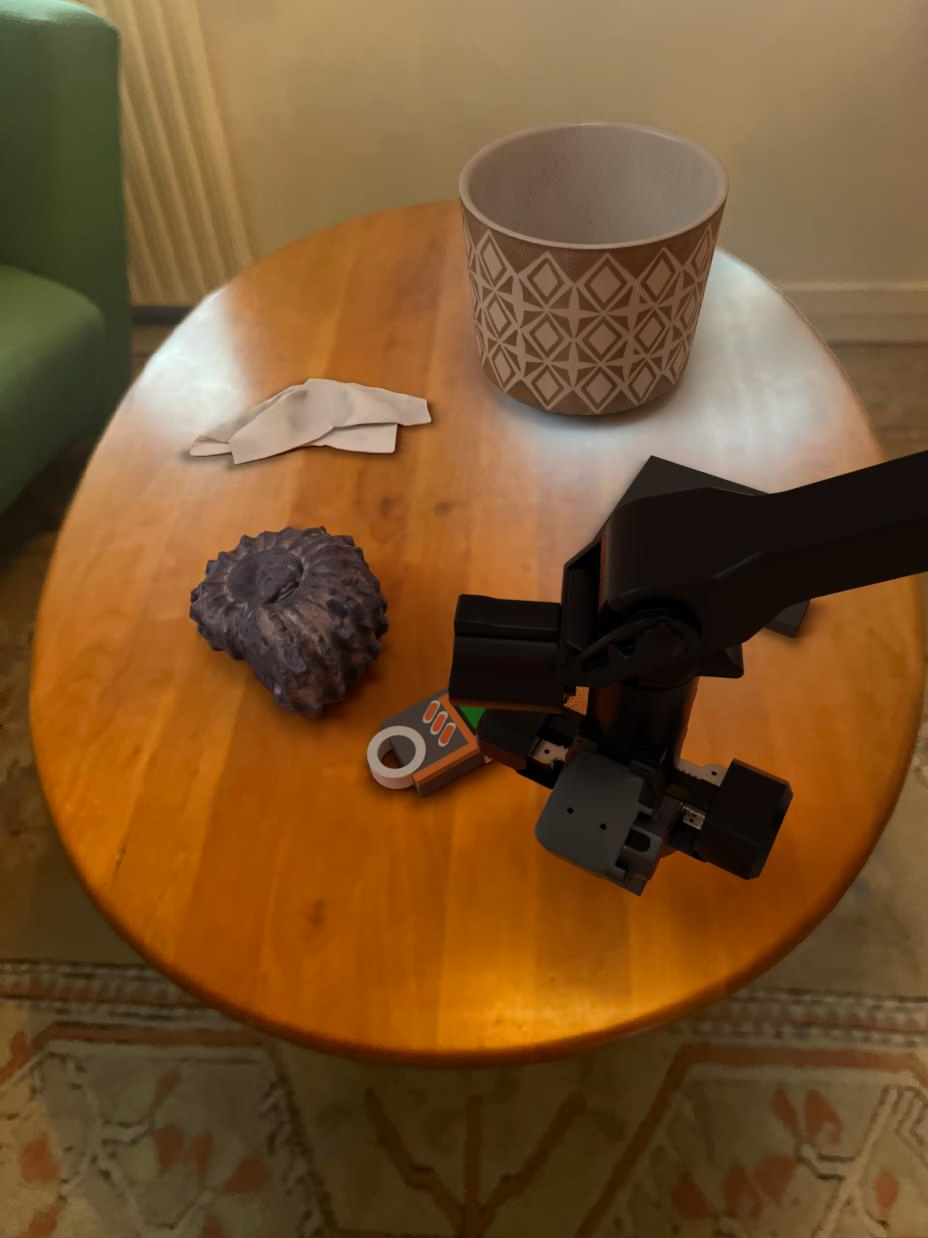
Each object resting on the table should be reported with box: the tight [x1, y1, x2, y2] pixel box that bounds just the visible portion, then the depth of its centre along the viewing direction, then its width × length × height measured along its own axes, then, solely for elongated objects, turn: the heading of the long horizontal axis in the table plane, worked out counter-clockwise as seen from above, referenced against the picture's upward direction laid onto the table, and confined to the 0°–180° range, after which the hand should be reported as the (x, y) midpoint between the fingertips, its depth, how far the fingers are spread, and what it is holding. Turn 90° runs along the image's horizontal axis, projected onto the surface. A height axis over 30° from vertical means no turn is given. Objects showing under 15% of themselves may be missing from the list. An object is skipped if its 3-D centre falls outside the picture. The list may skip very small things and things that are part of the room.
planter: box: [458, 119, 730, 416], centre depth 101 cm, size 26×26×22 cm
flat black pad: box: [592, 455, 812, 639], centre depth 90 cm, size 20×15×2 cm
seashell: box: [188, 525, 390, 718], centre depth 81 cm, size 20×13×15 cm
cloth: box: [189, 377, 432, 466], centre depth 104 cm, size 26×14×2 cm, turn 91°
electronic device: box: [366, 686, 494, 798], centre depth 77 cm, size 7×3×15 cm
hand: (617, 829), depth 65 cm, fingers closed on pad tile, 6 cm apart
